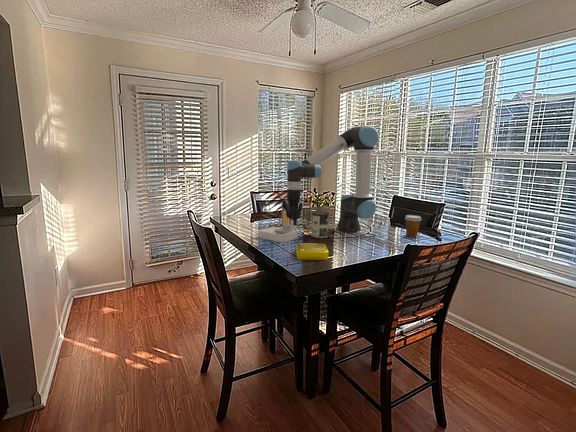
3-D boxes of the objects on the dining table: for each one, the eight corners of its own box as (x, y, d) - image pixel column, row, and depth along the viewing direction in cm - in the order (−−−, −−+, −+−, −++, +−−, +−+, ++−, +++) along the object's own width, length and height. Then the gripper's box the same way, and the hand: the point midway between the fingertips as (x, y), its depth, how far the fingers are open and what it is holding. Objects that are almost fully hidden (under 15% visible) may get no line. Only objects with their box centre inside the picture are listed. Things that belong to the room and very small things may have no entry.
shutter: (291, 231, 197) (291, 224, 196) (284, 233, 192) (284, 226, 191) (281, 229, 201) (282, 222, 201) (274, 231, 196) (274, 224, 195)
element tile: (324, 251, 176) (325, 242, 175) (328, 260, 161) (329, 251, 160) (295, 251, 176) (295, 242, 175) (297, 260, 161) (297, 250, 160)
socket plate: (297, 237, 200) (297, 231, 199) (282, 242, 189) (283, 235, 188) (273, 232, 210) (273, 226, 209) (258, 237, 199) (258, 230, 198)
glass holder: (279, 223, 236) (279, 202, 233) (298, 222, 240) (299, 201, 237) (283, 226, 228) (283, 204, 225) (303, 225, 232) (303, 203, 229)
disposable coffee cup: (420, 234, 213) (422, 215, 210) (419, 238, 204) (421, 218, 202) (404, 232, 217) (406, 214, 214) (402, 236, 208) (404, 216, 206)
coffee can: (328, 234, 210) (329, 211, 207) (327, 238, 200) (328, 214, 197) (312, 233, 212) (312, 210, 209) (309, 237, 202) (310, 213, 199)
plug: (291, 232, 213) (292, 211, 211) (287, 233, 210) (288, 212, 208) (286, 231, 216) (286, 210, 213) (282, 232, 212) (282, 211, 210)
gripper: (280, 188, 188) (279, 230, 193) (299, 190, 181) (298, 233, 185) (288, 187, 194) (287, 227, 199) (307, 189, 187) (306, 231, 191)
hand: (293, 230), depth 192 cm, fingers closed
